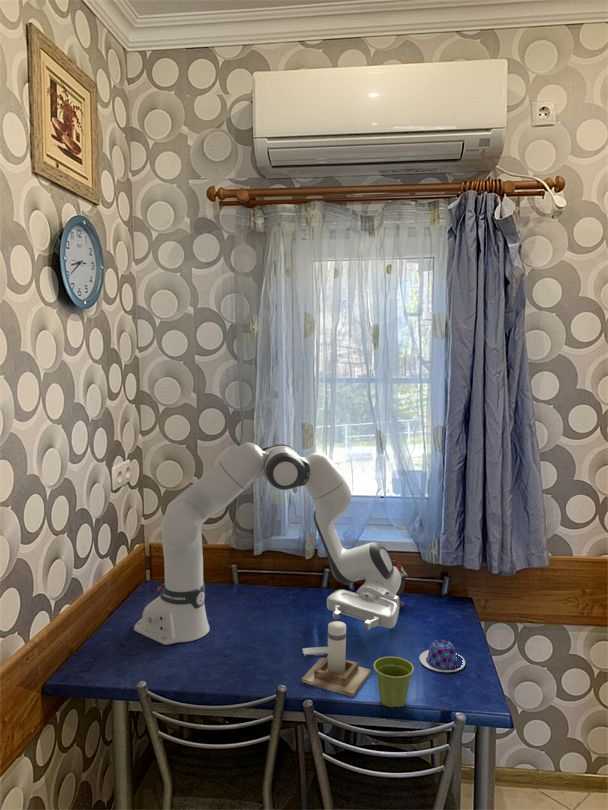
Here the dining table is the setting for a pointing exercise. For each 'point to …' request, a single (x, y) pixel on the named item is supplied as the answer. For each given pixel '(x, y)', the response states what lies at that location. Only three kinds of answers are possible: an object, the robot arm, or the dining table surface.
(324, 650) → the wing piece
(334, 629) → the grooved cream capsule
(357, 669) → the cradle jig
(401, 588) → the sundae
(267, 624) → the dining table surface
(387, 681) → the plant pot
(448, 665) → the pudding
